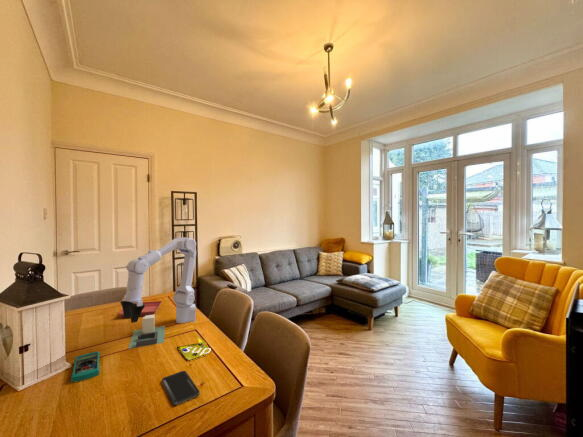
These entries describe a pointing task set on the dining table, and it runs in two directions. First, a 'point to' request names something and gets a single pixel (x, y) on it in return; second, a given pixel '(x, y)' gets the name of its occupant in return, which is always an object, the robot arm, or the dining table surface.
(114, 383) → the dining table surface
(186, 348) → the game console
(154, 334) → the board
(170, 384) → the phone
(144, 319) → the keyed plug
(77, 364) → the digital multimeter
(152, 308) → the plant saucer
